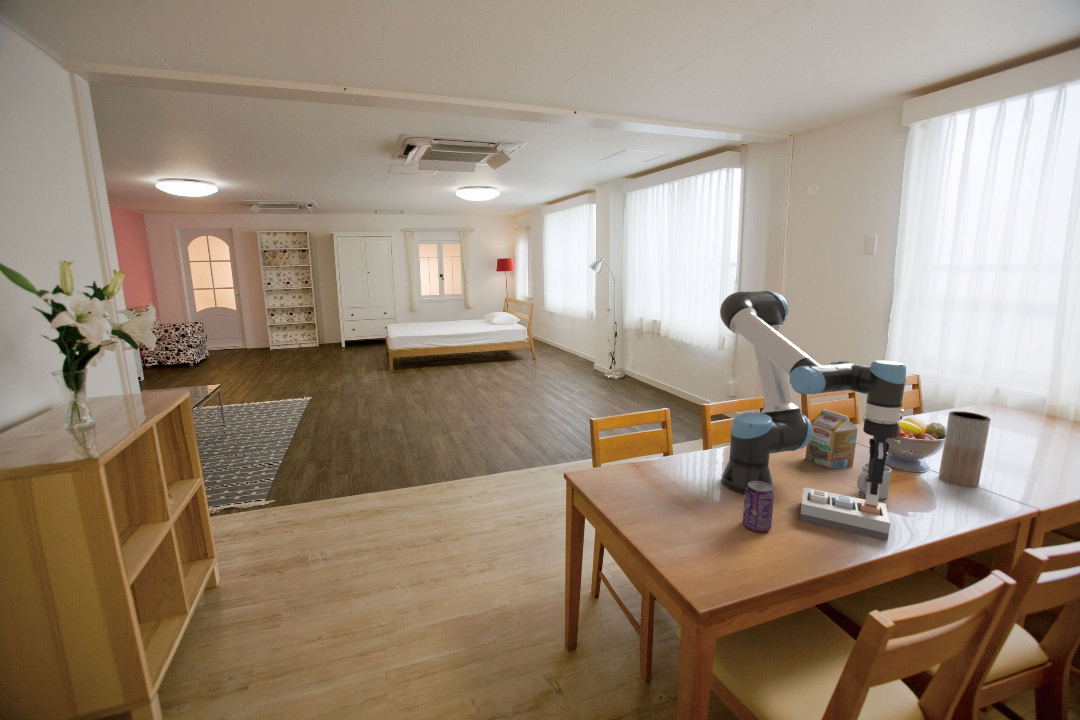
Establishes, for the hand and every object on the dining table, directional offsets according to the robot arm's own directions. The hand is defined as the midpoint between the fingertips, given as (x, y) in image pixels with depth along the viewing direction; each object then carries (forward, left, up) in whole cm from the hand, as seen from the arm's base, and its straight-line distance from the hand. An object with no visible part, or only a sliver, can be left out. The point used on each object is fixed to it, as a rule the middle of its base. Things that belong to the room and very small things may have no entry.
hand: (871, 503), depth 127 cm
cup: (+2, +23, -7) cm, 24 cm away
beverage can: (-26, -16, -7) cm, 31 cm away
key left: (-12, 0, -3) cm, 13 cm away
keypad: (-6, 0, -7) cm, 9 cm away
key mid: (-6, 0, -3) cm, 7 cm away
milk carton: (-9, +46, -7) cm, 48 cm away
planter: (+28, +50, -7) cm, 58 cm away
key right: (0, 0, -3) cm, 3 cm away
